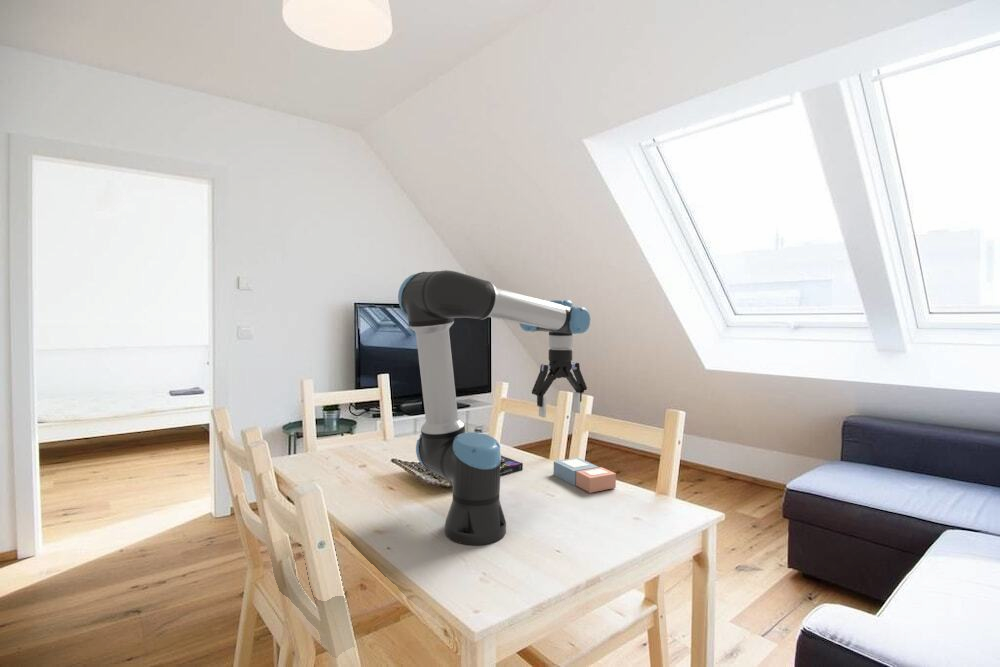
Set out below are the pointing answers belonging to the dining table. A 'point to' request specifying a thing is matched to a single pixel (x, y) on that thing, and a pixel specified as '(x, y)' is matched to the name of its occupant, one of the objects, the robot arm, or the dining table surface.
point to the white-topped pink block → (595, 479)
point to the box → (510, 466)
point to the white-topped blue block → (571, 468)
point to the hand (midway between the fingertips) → (559, 414)
